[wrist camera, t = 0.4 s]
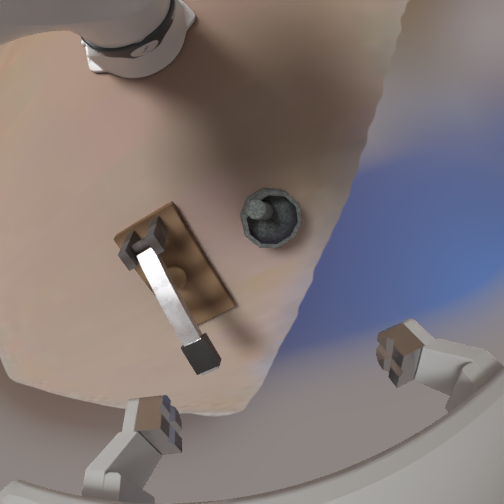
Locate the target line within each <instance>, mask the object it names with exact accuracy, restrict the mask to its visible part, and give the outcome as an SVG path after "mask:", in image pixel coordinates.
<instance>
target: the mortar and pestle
mask: <svg viewBox="0 0 504 504" xmlns="http://www.w3.org/2000/svg"><path fill="white" fill-rule="evenodd" d="M240 216H241V221H242V225H243V229H244V234H245V236H246V237H247V238H248V239H249V240H251V241H252V242H253V243H255V244H256V245H257V246H259V247H260V248H278V247H280V246H282V245H283V244H285V243H286V242H288V241H290V240H291V239H293V238H294V236H295V234H296V232H297V230H298V228H299V227H300V225H301V223H302V219H301V211H300V204H299V203H298V202H297V201H295V200H294V199H293V198H292V197H291V196H290V195H289V194H288V193H287V192H286V191H284V190H281V189H271V188H262V189H260V190H259V191H257V192H255V193H254V194H252V195H251V196H249V197H247V200H246V202H245V204H244V206H243V209H242V211H241V213H240Z"/></svg>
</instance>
